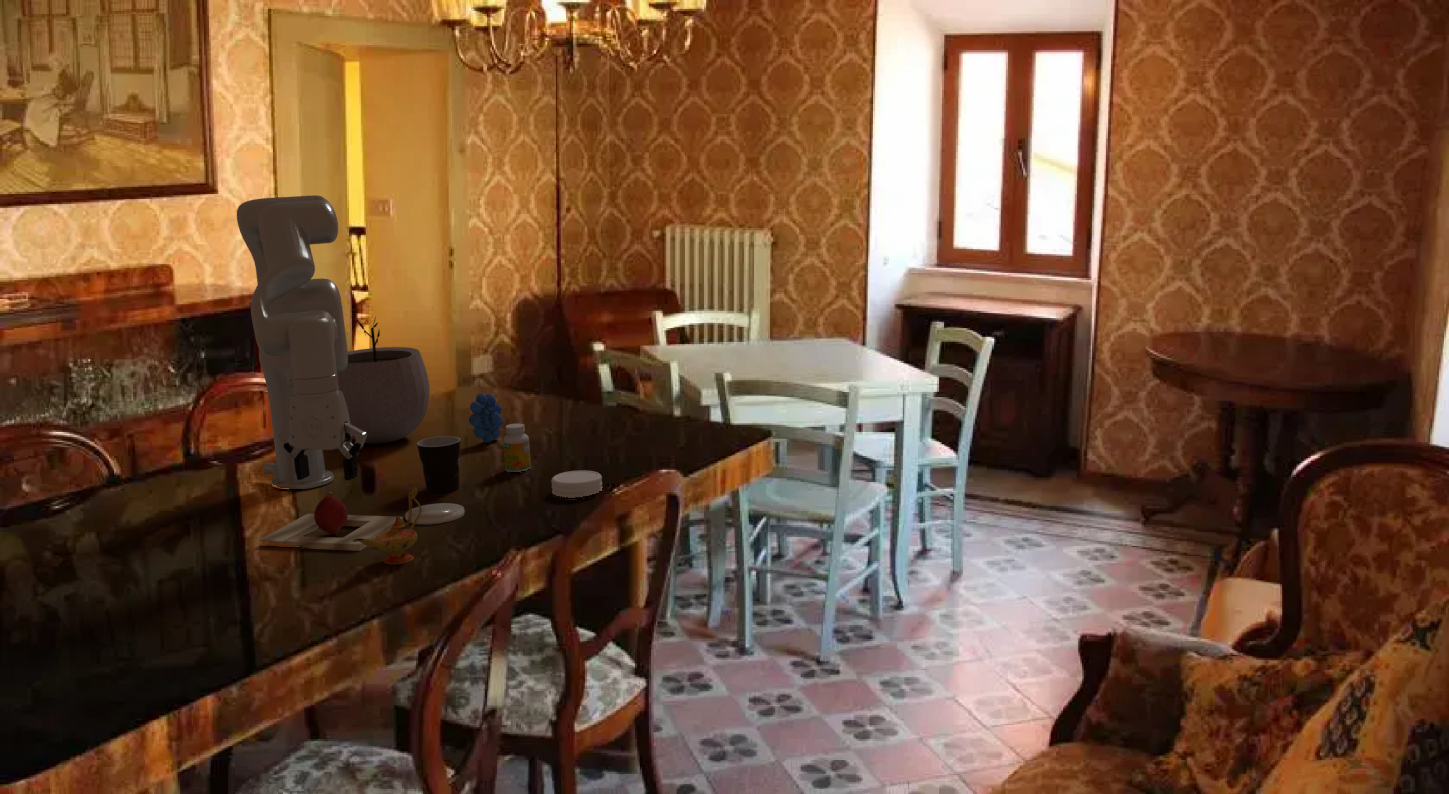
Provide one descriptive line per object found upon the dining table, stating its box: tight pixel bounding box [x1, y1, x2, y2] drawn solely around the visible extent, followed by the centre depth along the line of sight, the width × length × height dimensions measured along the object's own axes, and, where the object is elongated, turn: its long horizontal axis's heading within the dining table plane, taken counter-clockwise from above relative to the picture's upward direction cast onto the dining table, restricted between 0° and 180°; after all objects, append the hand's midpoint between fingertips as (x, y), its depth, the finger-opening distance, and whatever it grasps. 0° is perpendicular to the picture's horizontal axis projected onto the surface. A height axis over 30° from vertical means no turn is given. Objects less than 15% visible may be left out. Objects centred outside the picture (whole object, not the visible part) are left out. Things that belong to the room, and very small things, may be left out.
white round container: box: [550, 470, 603, 498], centre depth 261 cm, size 10×10×4 cm
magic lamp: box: [353, 486, 422, 565], centre depth 223 cm, size 7×18×11 cm, turn 156°
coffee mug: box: [416, 435, 461, 494], centre depth 268 cm, size 12×9×10 cm
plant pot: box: [337, 316, 431, 445], centre depth 309 cm, size 24×24×30 cm
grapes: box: [468, 393, 505, 444], centre depth 304 cm, size 12×7×12 cm, turn 154°
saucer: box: [404, 502, 465, 526], centre depth 250 cm, size 11×11×1 cm
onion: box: [313, 492, 349, 536], centre depth 240 cm, size 6×6×8 cm
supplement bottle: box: [502, 423, 532, 473], centre depth 279 cm, size 5×5×10 cm
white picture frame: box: [258, 513, 404, 552], centre depth 241 cm, size 20×16×1 cm
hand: (327, 478), depth 238 cm, fingers open, 9 cm apart
